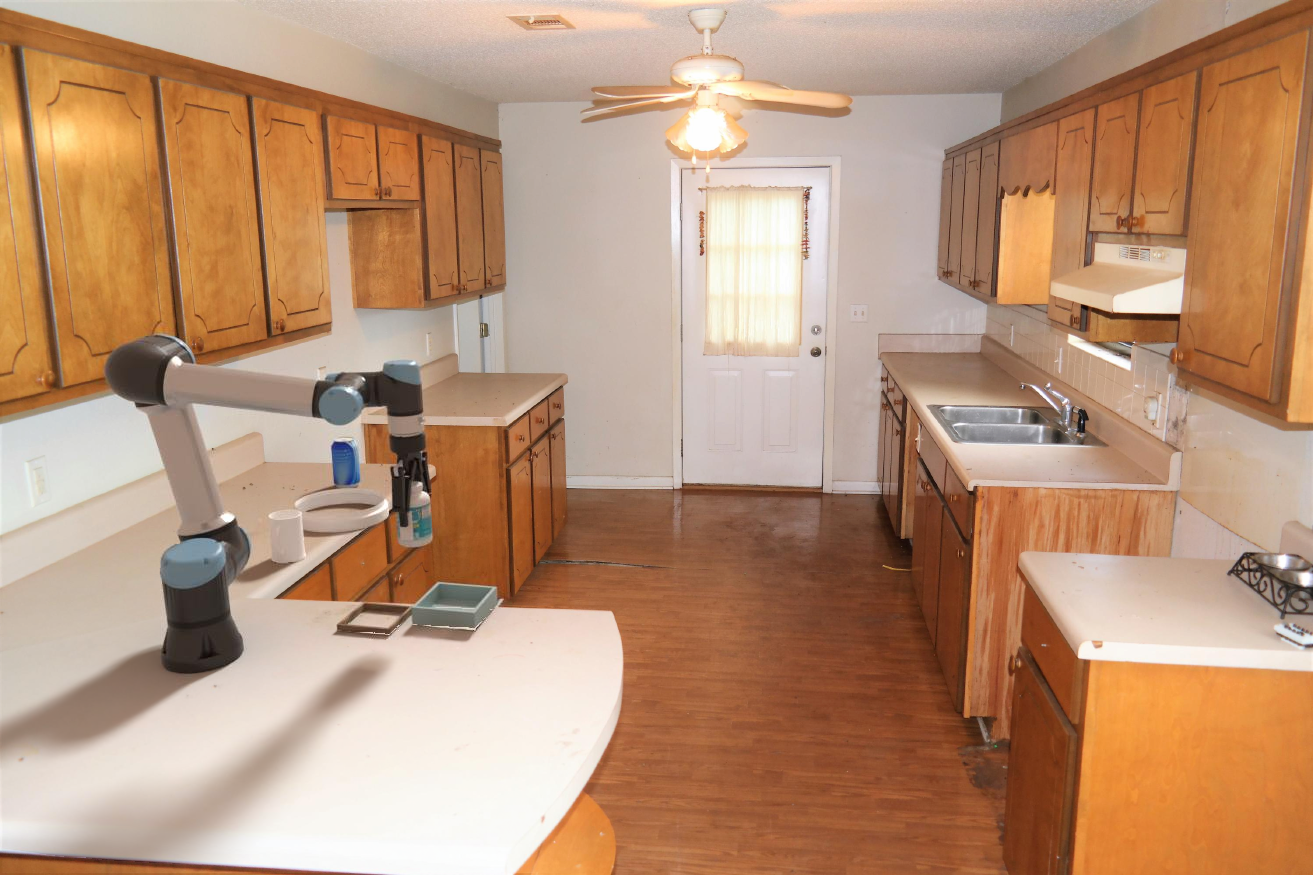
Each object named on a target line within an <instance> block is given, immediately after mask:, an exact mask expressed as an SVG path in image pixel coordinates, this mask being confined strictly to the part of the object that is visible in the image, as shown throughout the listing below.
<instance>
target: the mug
mask: <svg viewBox="0 0 1313 875" xmlns="http://www.w3.org/2000/svg"><path fill="white" fill-rule="evenodd" d="M268 525H269V538H270V546H271V562H273V563H275V562H276V564H289V563H288V562H293V563H296V562H300V561H301V560H304V559H305V558H306V557H307V554H306V550H305V549H306V548H305V540H304V536H305V535H304V530H303V524H302V513H301V512H300V511H298V510H293V509H283V510H277V511H273V512H271V513H269V514H268Z"/></svg>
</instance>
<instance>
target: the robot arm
mask: <svg viewBox="0 0 1313 875" xmlns="http://www.w3.org/2000/svg"><path fill="white" fill-rule="evenodd" d="M420 370H421V369H420V365H419V363H418V362H417V361H415V360H411V359H396V360H388V361H386V362H384V363H383V366H382V370H378V371H361V372H360V371H358V372H356V371H355V372H354V371H353V372H352V371H351V372H350V371H349V372H346V371H341V372H335V373H333V372H332V373H328V374H327V375H326V376H325V378H324V380H322V379H315V378H307V377H299V376H292V375H283V374H276V373H268V372H260V371H254V370H253V371H252V370H245V369H244V370H243V369H237V368H229V367H221V366H215V365H214V366H212V365H204V364H197V363H196V358H195V355H194V353H193V351H192V349H191V348H190V347H189V346H188V345H187V344H186V343H185V342H184V341H182V340H181V339H180V338H178V337H175V336H173V335H170V334H163V333H160V334H159V333H158V334H152V335H151V334H148V335H145V336H141V337H139V338H136V339H135V340H132V341H129V342H126V343H124V344H121V345H119V346H117V347H116V348H115V349H114V350H112V352H111V353H110V354H109V355H108V357H107V358H106V361H105V362H104V370H103V372H104V378H105V381H106V384H107V385H108V387H109V388H110V389H111V390H112V392H113V393H115V394H116V395H117V396H118V397H120V398H121V399H123V400H126V401H128V402H134V406H135V409H137V410H138V411H141V412H143V413H144V414H146V415H147V418H148V420H149V425H150V427H151V428H150V429H151V431H152V434H153V437H154V440H155V443H156V446H157V449H158V452H159V455H160V457H161V461H162V464H163V468H164V470H165V473H166V476H167V479H168V482H169V486H170V488H171V492H172V494H173V498H174V501H175V504H176V507H177V510H178V514H179V516H180V519H181V524H180V525H179V527H178V529H177V530H176V533H177V536H178V540H179V543H174V544H173V545H171V546H170V547H168V548H166V550H165V551H164V552H163V553H162V555H161V557H160V561H159V562H160V568H159V575H160V579H161V585H162V586H161V587H162V592H163V600H164V607H165V615H166V622H167V623H166V624H167V628H166V632H165V636H164V639H163V643H162V644H163V645H162V649H161V653H160V655H161V656H160V657H161V663H162V664H161V665H162V666H163V667H164V668H165V669H167V670H168V671H171V672H174V673H182V674H184V673H186V674H187V673H188V674H189V673H190V674H191V673H201V672H207V671H211V670H215V669H217V668H220V667H221V668H222V667H224V666H225V665H228V664H230V663H232V662H234V661H235V660H236V659H238V658H239V657H241V655H242V654H243V653H244V651H245V647H244V646H245V644H244V638H243V636H242V634H241V633H240V631H239V629H238V627H237V624H236V623H235V620H234V618H233V617H232V613H231V612H232V611H231V602H230V594H229V593H230V592H229V588H230V586H231V584H233V582H234V580H235V579H236V578H237V577H238V575H239V574H240V573H242V572H243V570H244V569H245V568H246V565H247V564H248V562H249V559H250V556H251V554H252V541H251V538H250V536H249V533H248V532H247V530H246V529H244V528H243V527H242V526H240V525H239V524H238V521H237V518H236V516H235V513H232V512H231V511H229V510H227V509H226V508H225V505H224V502H223V498H222V496H221V491H220V488H219V486H218V483H217V479H216V477H215V473H214V470H213V466H212V464H211V460H210V457H209V454H208V450H207V447H206V444H205V441H204V438H203V434H202V431H201V427H200V423H199V421H198V418H197V415H196V411H195V409H194V405H193V404H196V405H197V404H198V405H205V406H213V407H221V408H222V407H223V408H229V409H238V410H239V409H240V410H247V411H254V412H255V411H256V412H265V413H273V414H281V415H289V416H299V417H305V418H315V419H323V420H324V421H326V422H327V423H329V424H331V425H333V426H338V427H339V426H345V425H348V424H350V423H352V422H353V421H355V420H357V419H358V418H359V417H360V415H361V414H362V412H363V410H364V409H365V408H382V407H385V408H386V416H387V418H386V419H387V430H388V432H389V433H390V434H389V436H388V439H389V449H390V451H391V453H394V454H396V465H394V466H393V465H391V466H390V468H389V471H390V472H389V473H390V475H391V509H392V510H391V511H392V513H396V512H398V515H399V527H400V539H401V540H409V541H413V540H414V535H413V523H412V511H409V507H410V495H411V484H412V481H419V482H422V484H423V490H422V491H424V492H426V493H427V494H428V495H429V497H430V499H432V485H431V478H430V473H429V472H430V471H429V466H428V451H424V450H426V448H427V439H426V433H425V432H424V430H425V422H426V417H424V402H423V386H422V385H423V384H422V376H421V371H420Z"/></svg>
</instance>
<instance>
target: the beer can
mask: <svg viewBox="0 0 1313 875" xmlns="http://www.w3.org/2000/svg"><path fill="white" fill-rule="evenodd" d="M330 449H331V450H330V452H331V464H332V476H333V477H332V478H333V484H334V485H335V487H336V489H342V488H357V487H358V486H359V484H360V483H361V470H360V469H361V468H360V456H359V455H360V454H359V444H358V442H357V441H356V438H355V437H354V436H339V437H335V438H334V439H333V442H332V443H331V445H330Z"/></svg>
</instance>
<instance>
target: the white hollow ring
mask: <svg viewBox="0 0 1313 875" xmlns="http://www.w3.org/2000/svg"><path fill="white" fill-rule="evenodd" d="M342 504H365V505H374V506H371V507H369V508H366V509H362V510H357V511H352V512H351V511H350V512H343V513H342V512H340V513H313V512H309V511H311V510H314V509H317V508H322V507H327V506H333V505H342ZM389 508H390V507H389V502H388V501H387V499H386V497H385V495H384V493H382V492H380V491H377V490H375V489H370V488H357V487H354V488H335V489H327V490H322V491H317V492H312V493H310V494H308V495H305V496H302V497H300V498H299V499H297V500H296V501H295V503H294V508H292V510H298V511H300V512H301V513H302V524H303V531H307V532H314V533H341V532H351V531H356V530H361V529H365V528H370V527H373V526H376V525H377V524H380V523H382V522H384V521H385V520H386V519H387V518H388V517H389V515H390V514H389V513H390V511H389Z"/></svg>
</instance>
